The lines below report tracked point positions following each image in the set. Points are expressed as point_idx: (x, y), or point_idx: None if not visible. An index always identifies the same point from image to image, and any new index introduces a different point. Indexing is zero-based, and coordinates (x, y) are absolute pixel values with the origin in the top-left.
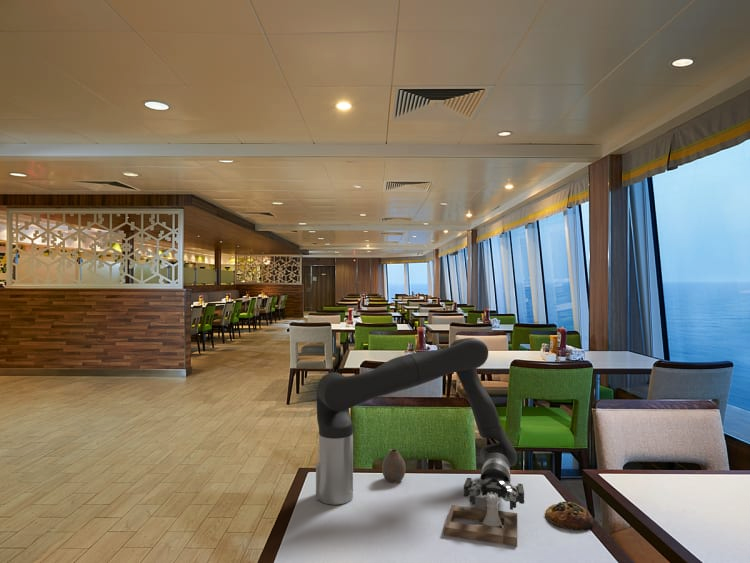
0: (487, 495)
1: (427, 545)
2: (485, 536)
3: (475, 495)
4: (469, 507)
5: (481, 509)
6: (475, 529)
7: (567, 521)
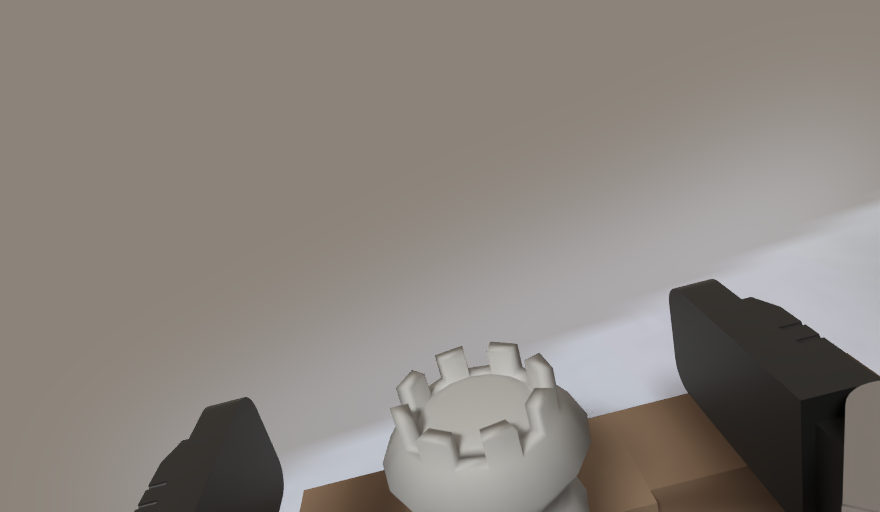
0: (536, 366)
1: (816, 302)
2: None
3: (713, 346)
4: None
5: None
6: (621, 434)
7: None
